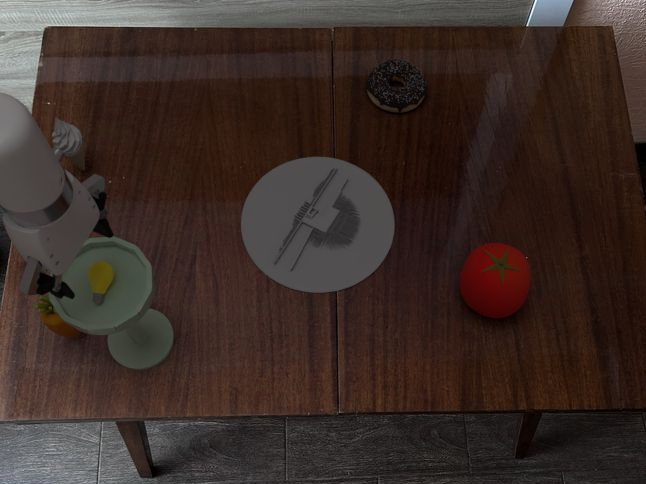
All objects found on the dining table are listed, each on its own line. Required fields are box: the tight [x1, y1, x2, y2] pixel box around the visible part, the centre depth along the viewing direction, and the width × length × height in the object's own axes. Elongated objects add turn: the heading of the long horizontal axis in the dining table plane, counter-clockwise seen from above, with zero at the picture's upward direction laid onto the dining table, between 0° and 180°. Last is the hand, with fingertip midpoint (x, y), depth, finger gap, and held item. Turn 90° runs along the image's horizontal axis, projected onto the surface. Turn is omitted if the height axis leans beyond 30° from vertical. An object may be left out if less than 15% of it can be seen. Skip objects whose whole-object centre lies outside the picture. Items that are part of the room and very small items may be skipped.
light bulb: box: [88, 261, 114, 305], centre depth 96 cm, size 3×6×4 cm, turn 174°
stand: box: [107, 308, 175, 371], centre depth 108 cm, size 11×11×21 cm
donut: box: [364, 58, 428, 114], centre depth 135 cm, size 11×12×4 cm
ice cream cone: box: [51, 116, 86, 172], centre depth 122 cm, size 5×5×15 cm
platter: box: [48, 235, 157, 336], centre depth 97 cm, size 14×14×2 cm
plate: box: [240, 156, 396, 294], centre depth 126 cm, size 28×28×1 cm
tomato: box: [459, 242, 532, 319], centre depth 117 cm, size 13×11×14 cm
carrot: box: [33, 295, 81, 339], centre depth 111 cm, size 5×5×15 cm
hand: (83, 262), depth 90 cm, fingers open, 9 cm apart
